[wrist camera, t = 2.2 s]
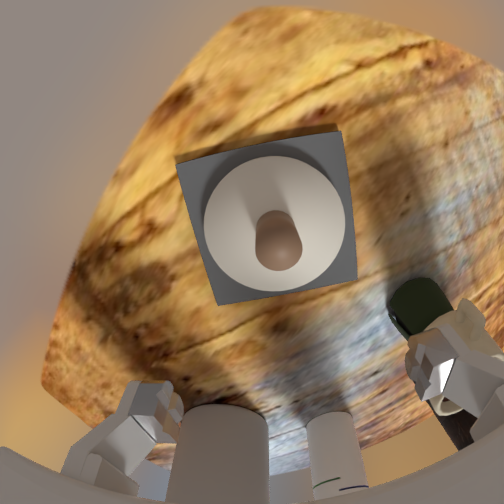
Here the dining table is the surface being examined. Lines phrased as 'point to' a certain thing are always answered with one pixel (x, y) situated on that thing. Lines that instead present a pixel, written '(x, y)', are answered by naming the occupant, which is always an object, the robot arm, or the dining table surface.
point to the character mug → (435, 314)
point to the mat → (219, 165)
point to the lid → (274, 223)
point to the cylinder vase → (220, 457)
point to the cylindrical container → (335, 456)
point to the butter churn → (457, 426)
